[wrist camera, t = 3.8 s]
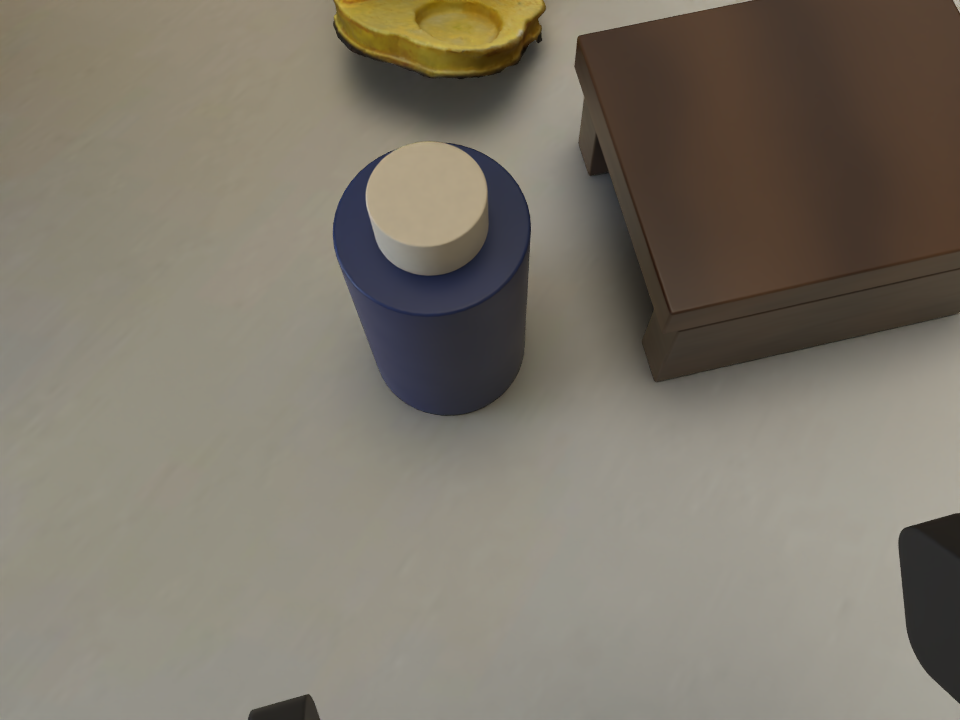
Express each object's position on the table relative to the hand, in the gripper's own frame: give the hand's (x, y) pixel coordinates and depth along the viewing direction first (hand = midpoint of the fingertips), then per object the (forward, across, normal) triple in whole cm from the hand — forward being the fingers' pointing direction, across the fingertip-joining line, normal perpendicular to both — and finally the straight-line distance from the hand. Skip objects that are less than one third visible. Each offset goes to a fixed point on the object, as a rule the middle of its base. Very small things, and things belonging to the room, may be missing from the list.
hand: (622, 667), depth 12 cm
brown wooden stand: (+21, -12, -1) cm, 24 cm away
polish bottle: (+20, 0, 0) cm, 20 cm away
